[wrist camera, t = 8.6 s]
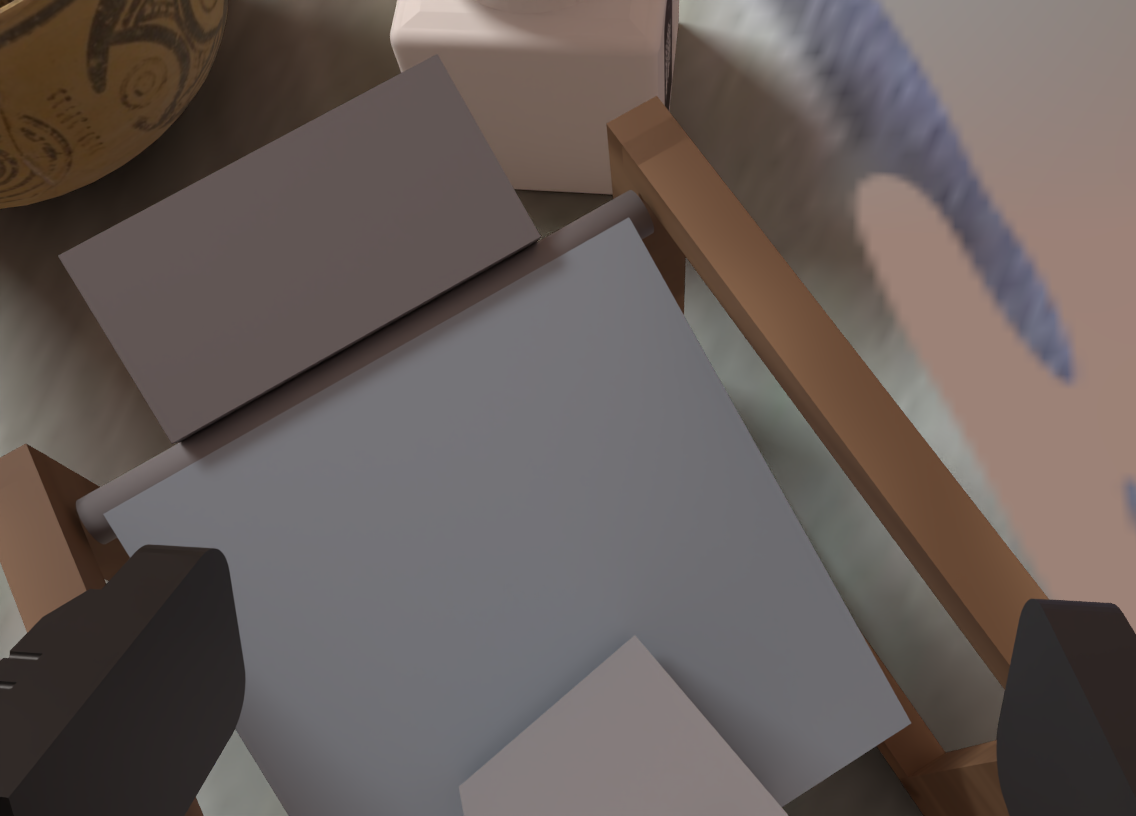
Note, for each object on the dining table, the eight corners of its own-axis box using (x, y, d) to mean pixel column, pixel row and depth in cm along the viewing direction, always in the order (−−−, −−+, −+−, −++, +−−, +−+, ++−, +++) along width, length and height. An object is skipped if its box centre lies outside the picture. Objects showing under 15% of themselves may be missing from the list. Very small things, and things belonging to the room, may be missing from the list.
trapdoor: (408, 1012, 22) (407, 1058, 21) (-17, 320, 21) (-53, 314, 20) (899, 695, 24) (934, 716, 22) (527, 28, 22) (536, 1, 21)
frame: (474, 1118, 27) (310, 1370, 15) (236, 608, 33) (-33, 475, 20) (963, 795, 29) (1186, 775, 17) (661, 360, 34) (656, 95, 22)
